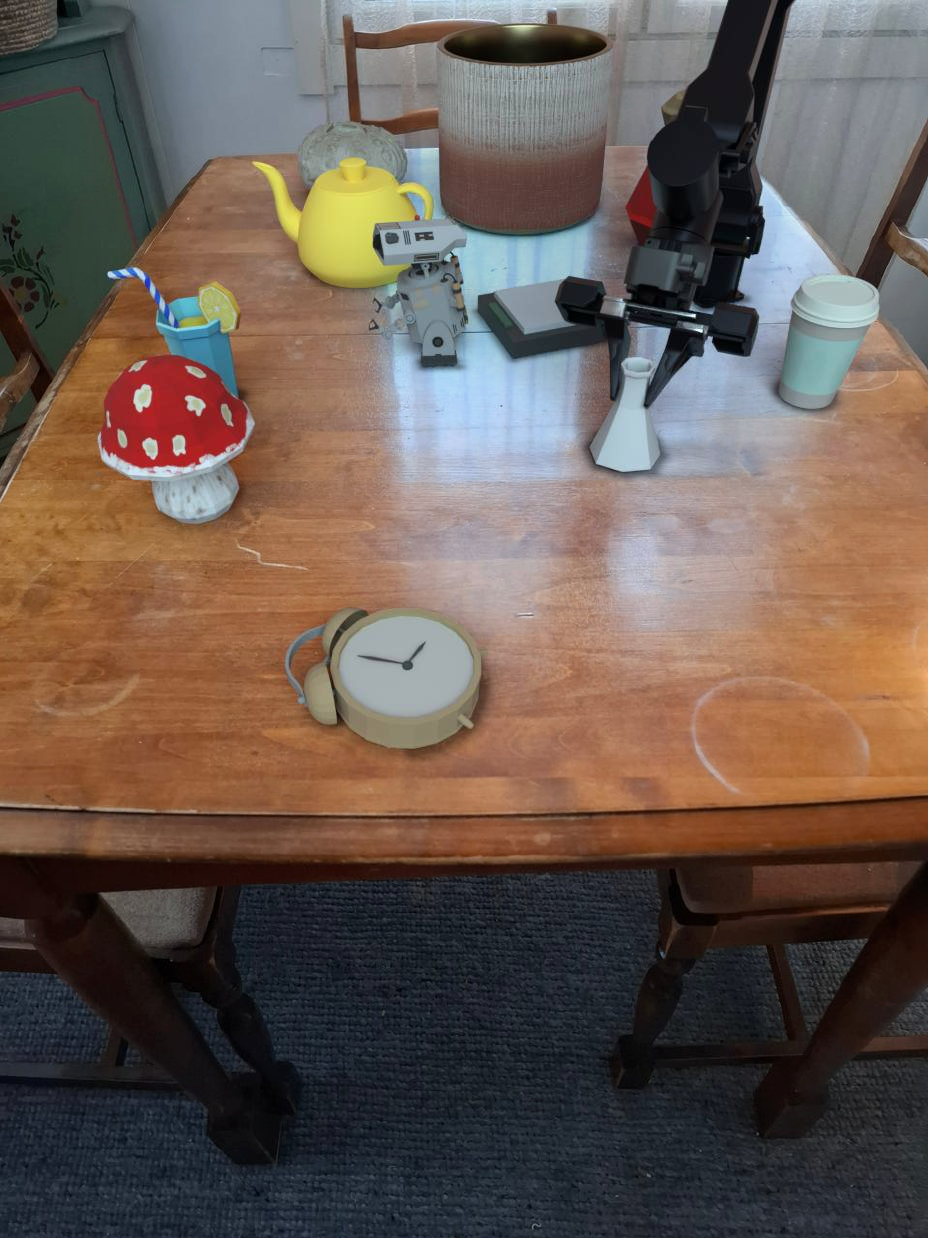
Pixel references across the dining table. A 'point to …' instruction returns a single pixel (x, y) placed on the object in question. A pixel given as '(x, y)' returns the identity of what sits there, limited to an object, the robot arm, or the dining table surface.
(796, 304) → the coffee cup
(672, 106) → the bottle
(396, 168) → the decorative shell
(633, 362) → the grey faceted vase
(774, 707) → the dining table surface
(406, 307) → the figurine
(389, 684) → the alarm clock
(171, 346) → the cup
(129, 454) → the decorative mushroom
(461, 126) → the planter
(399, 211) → the teapot
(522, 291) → the kitchen scale
